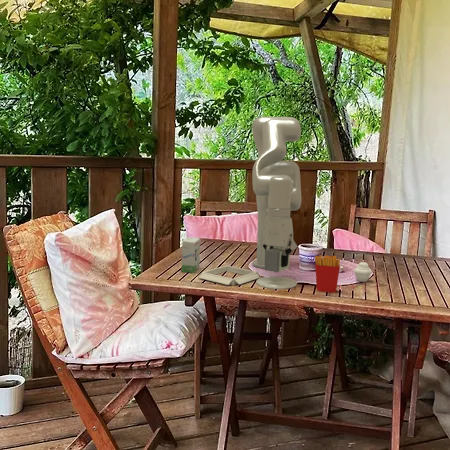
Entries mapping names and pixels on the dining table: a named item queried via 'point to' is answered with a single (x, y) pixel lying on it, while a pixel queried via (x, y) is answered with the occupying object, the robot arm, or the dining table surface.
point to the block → (274, 260)
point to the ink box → (190, 254)
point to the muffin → (362, 272)
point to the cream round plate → (276, 282)
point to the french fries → (327, 273)
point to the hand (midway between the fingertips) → (277, 264)
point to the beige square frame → (246, 277)
